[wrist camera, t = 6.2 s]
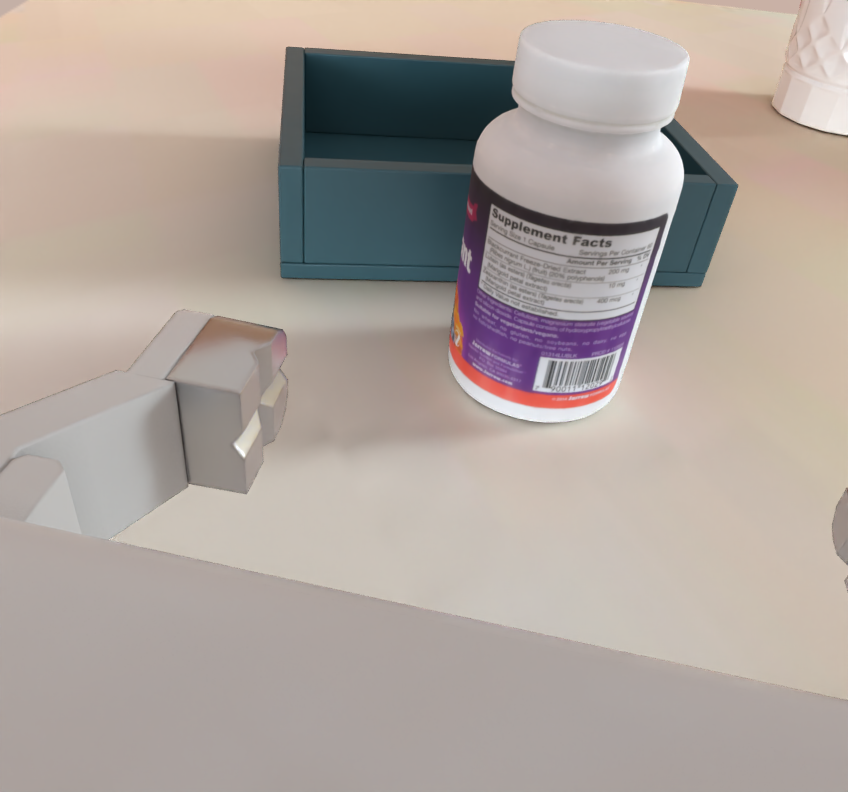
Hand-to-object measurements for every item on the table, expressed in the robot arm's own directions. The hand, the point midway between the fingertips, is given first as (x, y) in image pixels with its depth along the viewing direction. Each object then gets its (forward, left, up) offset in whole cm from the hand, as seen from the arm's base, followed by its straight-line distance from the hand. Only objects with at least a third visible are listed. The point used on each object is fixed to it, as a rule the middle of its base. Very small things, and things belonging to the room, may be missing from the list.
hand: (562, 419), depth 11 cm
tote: (-3, -22, -7) cm, 24 cm away
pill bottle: (-3, -11, -8) cm, 14 cm away
